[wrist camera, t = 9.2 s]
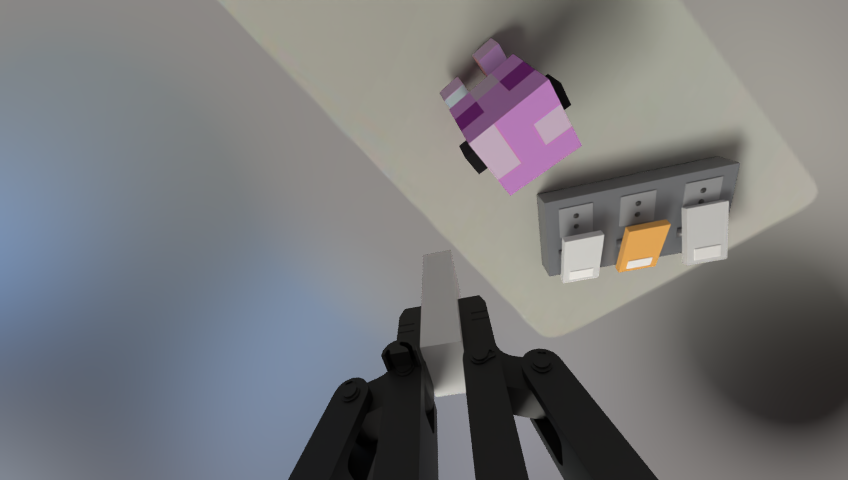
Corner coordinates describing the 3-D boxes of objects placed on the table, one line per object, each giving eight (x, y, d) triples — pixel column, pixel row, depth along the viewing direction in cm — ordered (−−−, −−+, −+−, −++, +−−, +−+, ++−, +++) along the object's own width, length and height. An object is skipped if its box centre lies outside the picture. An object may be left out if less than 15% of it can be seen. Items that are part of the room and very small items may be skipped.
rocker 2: (625, 227, 42) (630, 232, 41) (666, 219, 42) (671, 224, 41) (615, 267, 47) (619, 272, 47) (651, 260, 47) (655, 266, 46)
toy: (500, 28, 36) (563, 67, 25) (531, 84, 41) (595, 136, 30) (428, 95, 40) (456, 153, 29) (463, 139, 45) (499, 203, 34)
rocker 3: (681, 207, 43) (687, 209, 42) (722, 199, 42) (729, 201, 41) (682, 262, 45) (687, 265, 44) (720, 256, 44) (727, 258, 43)
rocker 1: (562, 237, 43) (565, 242, 42) (600, 230, 43) (604, 235, 42) (560, 278, 48) (563, 283, 47) (595, 272, 48) (598, 277, 47)
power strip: (536, 194, 46) (546, 205, 42) (717, 156, 43) (744, 164, 40) (542, 264, 52) (551, 279, 48) (703, 234, 49) (726, 247, 45)
